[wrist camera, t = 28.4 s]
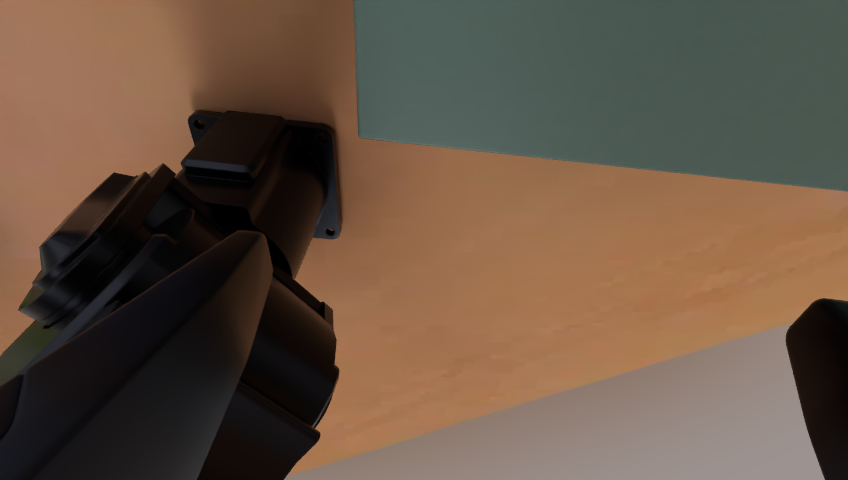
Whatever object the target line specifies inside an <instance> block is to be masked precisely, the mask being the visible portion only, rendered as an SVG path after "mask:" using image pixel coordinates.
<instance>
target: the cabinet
mask: <svg viewBox="0 0 848 480" xmlns="http://www.w3.org/2000/svg"><path fill="white" fill-rule="evenodd" d="M354 24H355V53H356V82H357V112H358V135H359V138H363V139H372V140H381V141H390V142H399V143H409V144H418V145H427V146H436V147H445V148H454V149H464V150H473V151H482V152H491V153H500V154H509V155H518V156H528V157H537V158H546V159H555V160H564V161H573V162H583V163H592V164H601V165H610V166H619V167H628V168H638V169H647V170H656V171H665V172H674V173H683V174H692V175H702V176H711V177H720V178H729V179H738V180H747V181H757V182H766V183H775V184H784V185H793V186H802V187H812V188H821V189H830V190H839V191H848V0H354Z"/></svg>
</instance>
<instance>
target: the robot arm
mask: <svg viewBox="0 0 848 480" xmlns="http://www.w3.org/2000/svg"><path fill="white" fill-rule="evenodd" d="M198 120H201V121H202V122H203V123H204V125H205V126H204V125H201V124H200V123H199V121H198ZM188 124H189V128H190V131H191V134H192V138H193V141H194V144H195V146H194V148H193V149H192V150H191V151H190V152H189V153H188V154H187V155H186V157H185V158H184V159H183V160H182V161H181V166H182V170H181V171H180V172H179V173H178V174H177V175H176V174H175V173H174V172H173V171H172V170H170V169H169V168H168V167H167V166H166V165H165V164H164V163H162V164H161V165H160V166H159V167H157V168H156V169H155V170H153V171H152V172H151V173H150V174H148V173H146V172H144V173H142V174H141V175H139V176H137V175H136V176H135V177H133V176H128V175H123V174H118V173H113V174H112V175H110V176H109V177H108V178H107V179H106V180H104V181H103V182H102V183H101V184H100V185H99V186H98V187H97V188H96V189H95V190H94V191H93V192H92V193H91V194H90V195H89V196H87V197H86V198H85V199H84V200H83V201H82V202H81V203H80V204H79V205H78V206H77V207H76V208H75V209H74V210H73V211H72V212H71V213H70V214H69V215H68V216H67V217H66V218H65V219H64V220H63V221H62V223H61V224H60V225H59V226H58V227H57V228H56V229H55V230H54V231H53V232H52V234H51V235H50V236H49V237H48V238H47V239H46V240H45V241H44V242H43V243H42V245H41V246H40V247H39V248H40V258H41V268H42V270H41V271H40V272H39V273H38V275H37V276H36V278H35V280H34V282H33V286H32V288H31V290H30V291H29V293H28V294H27V296H26V297H25V299H24V300H23V302H22V304H21V305H20V307H19V309H18V310H19V311H20V312H22V313H24V314H26V315H27V316H29V317H31V318H33V319H34V320H35V321H34V322H33V323H32V324H31V325H30V326H29V327H28V328H27V329H26V330H25V331H24V332H23V333H22V334H21V335H20V336H19V337H18V338H17V339H16V340H15V341H14V342H13V343H12V344H11V345H10V346H9V347H8V348H7V349H6V350H5V351H4V352H3V354H2V355H1V356H0V480H284V479H285V477H286V476H287V475H288V473H289V472H290V471H291V469H292V468H293V467H294V465H295V464H296V463H297V462H298V461H299V460H300V459H301V458H302V457H303V456H304V455H305V454H306V453H307V452H308V451H309V450H310V449H311V448H312V447H313V446H314V445H315V444H316V443H317V442H318V440H319V438H320V432H319V431H318V430H316V429H315V428H316V426H317V425H318V424H319V422H320V420H321V419H322V417H323V416H324V414H325V412H326V410H327V408H328V406H329V404H330V401H331V399H332V395H333V392H334V389H335V387H336V384H337V381H338V379H339V368H338V367H337V366H336V365H335V352H336V337H335V334H334V330H333V310H332V309H331V308H330V307H329V306H328V305H327V304H326V303H325V302H320V301H319V300H317V299H316V298H315V297H314V296H313V295H312V294H310V293H309V292H308V291H307V290H306V289H305V288H303V287H302V286H301V285H300V284H299V283H298V282H296V281H295V278H296V275H297V273H298V270H299V268H300V266H301V263H302V261H303V259H304V256H305V254H306V251H307V249H308V247H309V244H310V242H311V240H312V237H316V238H325V239H336V238H338V237H339V235H340V232H341V215H340V201H339V188H338V174H337V160H336V146H335V134H334V131H333V129H332V128H331V127H330V126H328V125H326V124H322V123H313V122H304V121H295V120H286V119H284V118H283V117H281V116H274V115H265V114H256V113H246V112H237V111H226V112H225V113H221V112H212V111H203V110H198V111H195V112H194V113H193V114H192V115H191V116H190V117H189V119H188ZM318 133H323V134H324V135H325V136H326V137H327V138H326V139H323V138H321V137H320V136H319V135H318ZM175 175H176V176H175ZM328 228H330V229H333V230H334V231H331V230H329V229H328ZM786 346H787V350H788V354H789V358H790V362H791V366H792V370H793V375H794V378H795V382H796V387H797V390H798V395H799V399H800V403H801V407H802V411H803V416H804V419H805V423H806V426H807V430H808V433H809V436H810V439H811V442H812V445H813V448H814V451H815V453H816V456H817V459H818V462H819V465H820V467H821V470H822V473H823V475H824V478H825V480H848V301H843V300H835V299H826V298H823V299H818V300H816V301H814V302H813V303H812V304H811V305H810V306H809V307H808V308H807V309H806V310H805V311H804V312H803V313H802V314H801V316H800V317H799V318H798V319H797V320H796V321H795V322H794V323H793V324H792V325H791V326H790V327H789V329H788V331H787V334H786Z"/></svg>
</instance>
